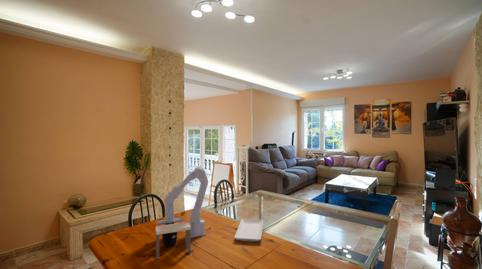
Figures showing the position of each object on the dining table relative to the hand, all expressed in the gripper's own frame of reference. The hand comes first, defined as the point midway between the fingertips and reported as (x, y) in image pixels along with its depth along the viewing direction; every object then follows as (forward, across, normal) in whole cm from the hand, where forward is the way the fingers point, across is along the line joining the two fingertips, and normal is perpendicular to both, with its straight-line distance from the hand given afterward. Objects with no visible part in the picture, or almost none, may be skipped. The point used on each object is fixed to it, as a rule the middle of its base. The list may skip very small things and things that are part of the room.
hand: (169, 234), depth 147 cm
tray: (+2, -51, +14) cm, 53 cm away
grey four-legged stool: (+1, 0, +21) cm, 21 cm away
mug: (+2, 0, +10) cm, 11 cm away
